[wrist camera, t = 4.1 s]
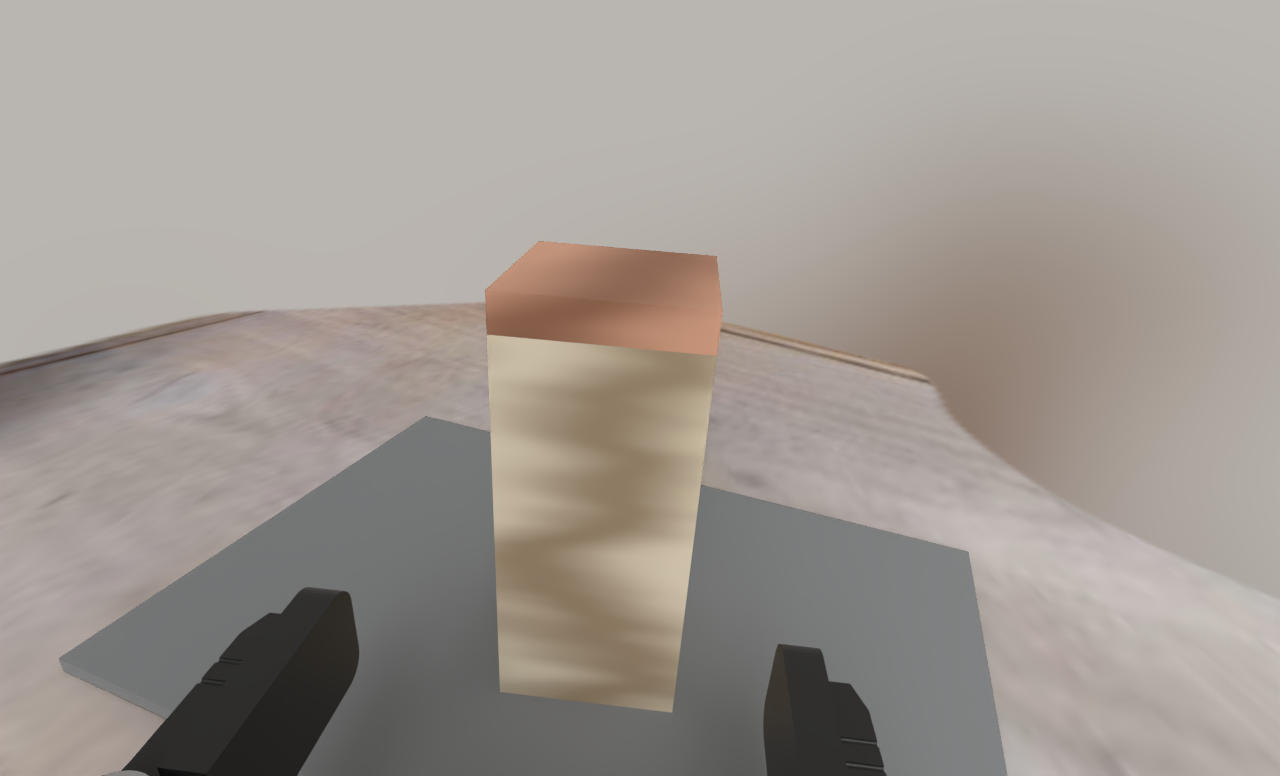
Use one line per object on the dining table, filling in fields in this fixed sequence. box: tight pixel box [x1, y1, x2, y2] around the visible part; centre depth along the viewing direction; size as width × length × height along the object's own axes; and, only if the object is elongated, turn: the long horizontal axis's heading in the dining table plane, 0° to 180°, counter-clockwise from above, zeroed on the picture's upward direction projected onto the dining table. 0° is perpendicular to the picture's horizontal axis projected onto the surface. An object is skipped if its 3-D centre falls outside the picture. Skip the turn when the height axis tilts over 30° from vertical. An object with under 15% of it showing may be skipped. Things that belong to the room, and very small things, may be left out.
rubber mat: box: [59, 416, 1007, 776], centre depth 22 cm, size 26×17×1 cm, turn 70°
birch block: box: [485, 241, 723, 713], centre depth 18 cm, size 5×5×12 cm
